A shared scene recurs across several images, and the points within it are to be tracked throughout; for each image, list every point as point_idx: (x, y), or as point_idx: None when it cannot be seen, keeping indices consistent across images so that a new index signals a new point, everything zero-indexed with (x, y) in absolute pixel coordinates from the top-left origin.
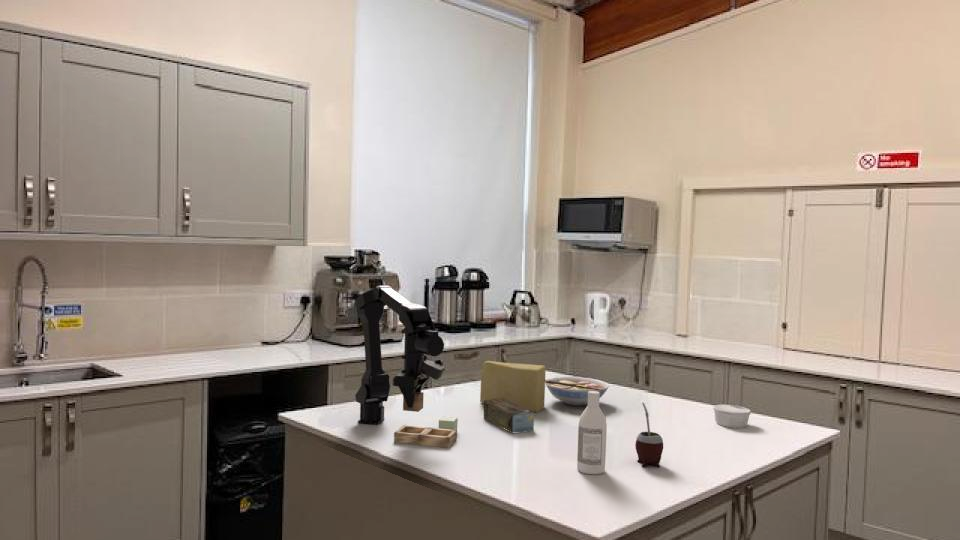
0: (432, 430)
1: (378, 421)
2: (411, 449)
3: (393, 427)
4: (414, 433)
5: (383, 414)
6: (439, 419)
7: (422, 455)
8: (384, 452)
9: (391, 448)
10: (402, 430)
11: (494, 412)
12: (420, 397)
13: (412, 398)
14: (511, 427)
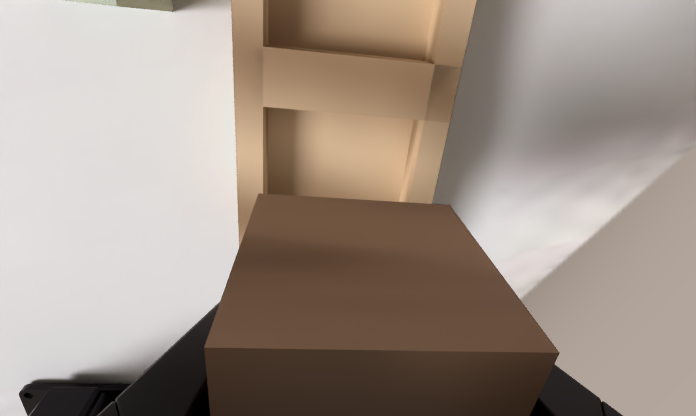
0: (265, 44)
1: (106, 394)
2: (527, 123)
3: (139, 311)
4: (420, 155)
5: (43, 412)
6: (89, 2)
7: (647, 28)
8: (574, 238)
9: (511, 226)
10: None
11: None
12: (415, 305)
13: (579, 387)
14: None
